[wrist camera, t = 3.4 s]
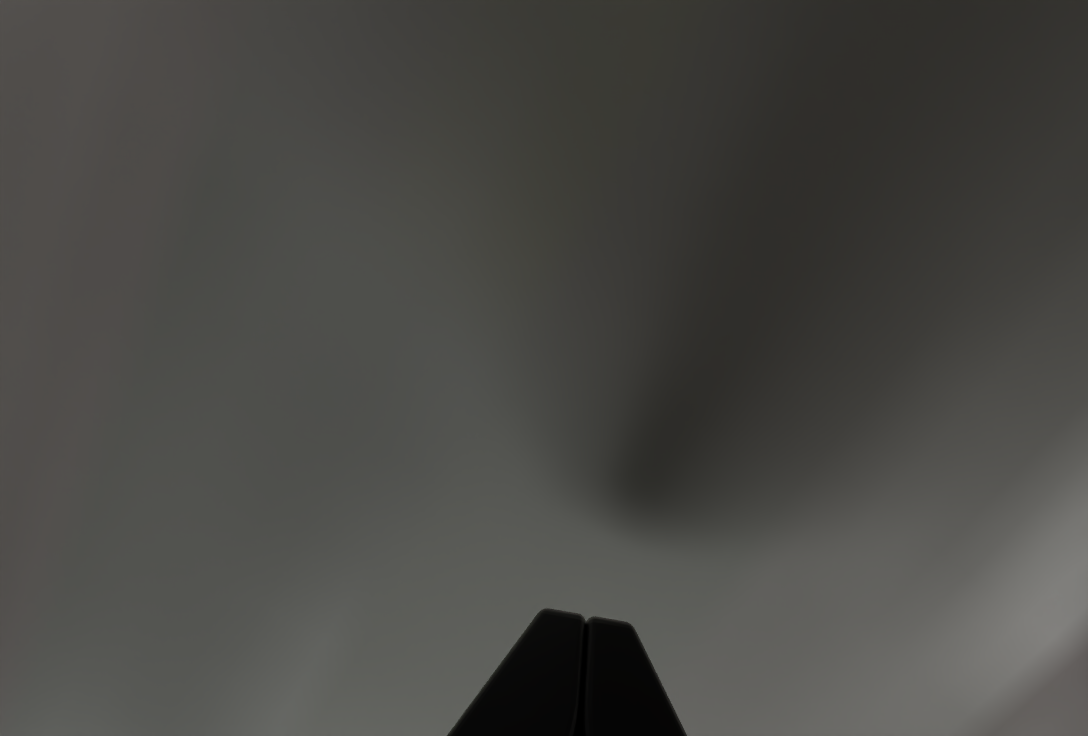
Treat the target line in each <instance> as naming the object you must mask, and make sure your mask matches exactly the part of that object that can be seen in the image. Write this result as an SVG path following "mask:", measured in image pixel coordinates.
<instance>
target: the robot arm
mask: <svg viewBox="0 0 1088 736" xmlns="http://www.w3.org/2000/svg"><path fill="white" fill-rule="evenodd" d="M447 736H687V735H686V733H685V730H684V728H683V726H682V724H681V722H680V720H679V718H678V716H677V714H676V712H675V710H674V708H673V706H672V704H671V702H670V700H669V698H668V696H667V694H666V692H665V690H664V688H663V686H662V683H661V681H660V679H659V677H658V675H657V673H656V671H655V669H654V667H653V665H652V663H651V661H650V659H649V657H648V655H647V653H646V651H645V649H644V647H643V645H642V643H641V641H640V638H639V636H638V634H637V632H636V631H635V629H634V627H633V626H632V625H631V624H629V623H628V622H624V621H618V620H612V619H607V618H601V617H591V618H589V619H588V620H587V622H585V619H584V617H583V616H582V615H581V614H578V613H572V612H566V611H560V610H554V609H543V610H541V611H540V612H539V613H538V614H537V615H536V616H535V618H534V619H533V621H532V622H531V623H530V625H529V626H528V627H527V629H526V630H525V631H524V633H523V634H522V635H521V637H520V638H519V639H518V641H517V642H516V643H515V645H514V646H513V647H512V649H511V650H510V651H509V653H508V654H507V656H506V657H505V658H504V660H503V661H502V662H501V664H500V665H499V666H498V668H497V669H496V670H495V672H494V673H493V674H492V676H491V677H490V678H489V680H488V681H487V682H486V684H485V685H484V687H483V688H482V689H481V691H480V692H479V693H478V695H477V696H476V697H475V699H474V700H473V701H472V703H471V704H470V705H469V707H468V708H467V709H466V711H465V712H464V713H463V715H462V716H461V718H460V719H459V720H458V722H457V723H456V724H455V726H454V727H453V728H452V730H451V731H450V732H449V734H448V735H447Z"/></svg>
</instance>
